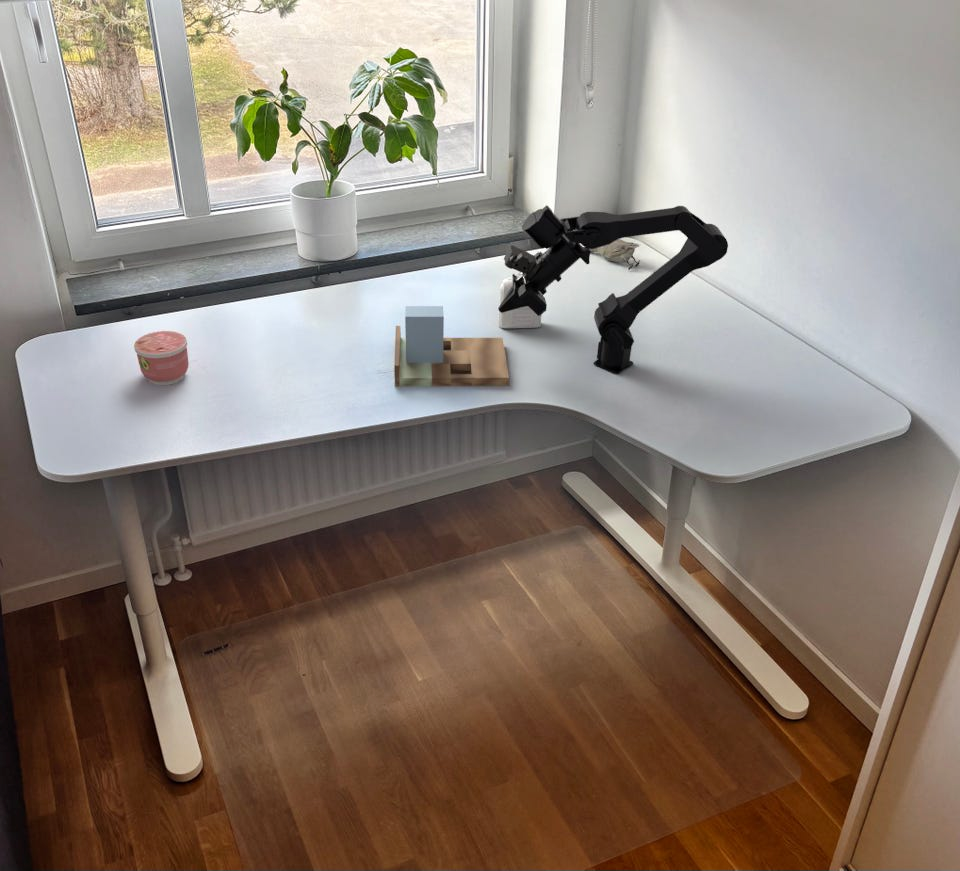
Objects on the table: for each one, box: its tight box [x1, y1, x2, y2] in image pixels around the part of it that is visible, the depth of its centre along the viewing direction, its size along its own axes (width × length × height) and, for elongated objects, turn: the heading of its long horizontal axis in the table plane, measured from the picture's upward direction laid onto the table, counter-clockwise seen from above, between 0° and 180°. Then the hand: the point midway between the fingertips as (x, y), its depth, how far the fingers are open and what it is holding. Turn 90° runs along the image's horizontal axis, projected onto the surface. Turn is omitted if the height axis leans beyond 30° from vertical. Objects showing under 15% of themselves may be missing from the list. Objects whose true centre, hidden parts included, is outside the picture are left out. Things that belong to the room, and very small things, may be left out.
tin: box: [404, 305, 445, 363], centre depth 204 cm, size 8×5×11 cm, turn 93°
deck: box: [393, 325, 510, 387], centre depth 207 cm, size 24×18×5 cm
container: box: [133, 330, 190, 386], centre depth 199 cm, size 10×10×8 cm
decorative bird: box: [590, 239, 641, 271], centre depth 256 cm, size 5×16×7 cm, turn 45°
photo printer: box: [497, 276, 544, 329], centre depth 222 cm, size 10×4×12 cm, turn 98°
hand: (499, 310), depth 201 cm, fingers closed
